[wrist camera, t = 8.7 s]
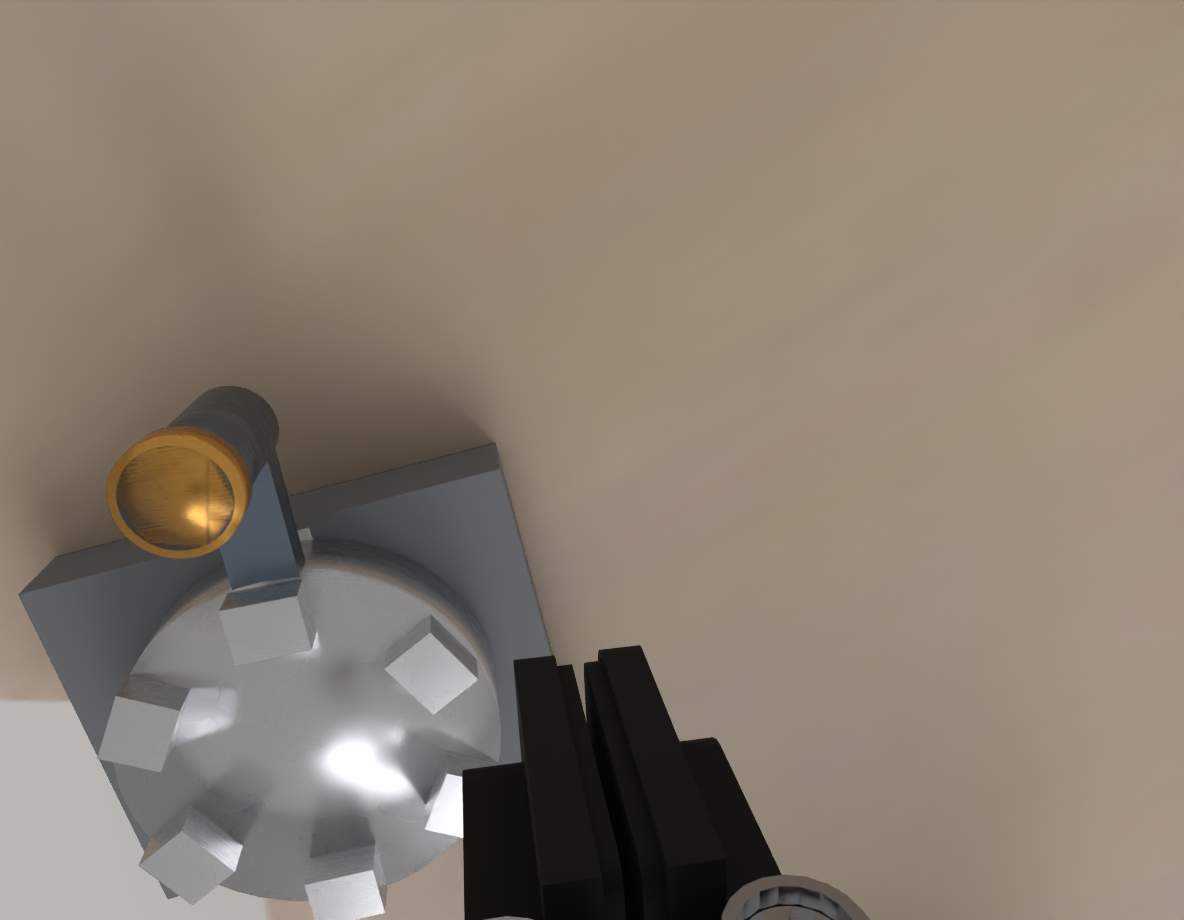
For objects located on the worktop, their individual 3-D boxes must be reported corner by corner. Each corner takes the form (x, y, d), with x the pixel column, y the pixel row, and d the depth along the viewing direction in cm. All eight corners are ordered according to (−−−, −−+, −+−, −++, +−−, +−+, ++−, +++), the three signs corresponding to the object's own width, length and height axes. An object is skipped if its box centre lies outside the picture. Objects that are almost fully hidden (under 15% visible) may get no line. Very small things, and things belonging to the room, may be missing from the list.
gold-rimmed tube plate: (521, 799, 34) (542, 970, 27) (198, 870, 33) (128, 1070, 26) (426, 334, 29) (420, 392, 21) (30, 401, 27) (-122, 487, 20)
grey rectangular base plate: (574, 732, 38) (585, 782, 35) (189, 842, 36) (166, 903, 33) (495, 443, 33) (500, 470, 30) (55, 556, 32) (15, 597, 29)
